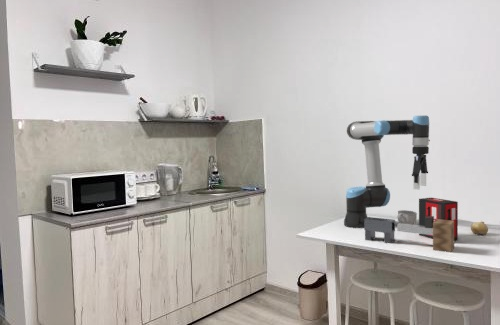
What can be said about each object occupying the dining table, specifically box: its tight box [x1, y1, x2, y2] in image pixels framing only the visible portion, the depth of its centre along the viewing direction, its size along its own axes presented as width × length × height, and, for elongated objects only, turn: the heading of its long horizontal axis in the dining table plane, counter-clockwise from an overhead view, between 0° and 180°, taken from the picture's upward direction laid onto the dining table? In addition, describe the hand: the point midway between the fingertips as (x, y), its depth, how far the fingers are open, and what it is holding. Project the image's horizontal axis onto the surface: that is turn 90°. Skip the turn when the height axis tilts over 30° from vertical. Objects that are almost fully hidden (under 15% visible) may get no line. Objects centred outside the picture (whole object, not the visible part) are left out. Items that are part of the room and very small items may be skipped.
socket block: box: [432, 219, 455, 253], centre depth 178 cm, size 8×9×13 cm
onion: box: [470, 221, 489, 236], centre depth 203 cm, size 8×8×7 cm
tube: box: [396, 216, 434, 235], centre depth 184 cm, size 21×5×8 cm, turn 53°
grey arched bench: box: [363, 216, 396, 244], centre depth 197 cm, size 14×7×11 cm, turn 53°
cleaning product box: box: [418, 197, 459, 242], centre depth 198 cm, size 16×9×20 cm, turn 21°
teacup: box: [396, 209, 418, 225], centre depth 229 cm, size 14×11×8 cm
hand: (419, 187), depth 193 cm, fingers open, 13 cm apart
